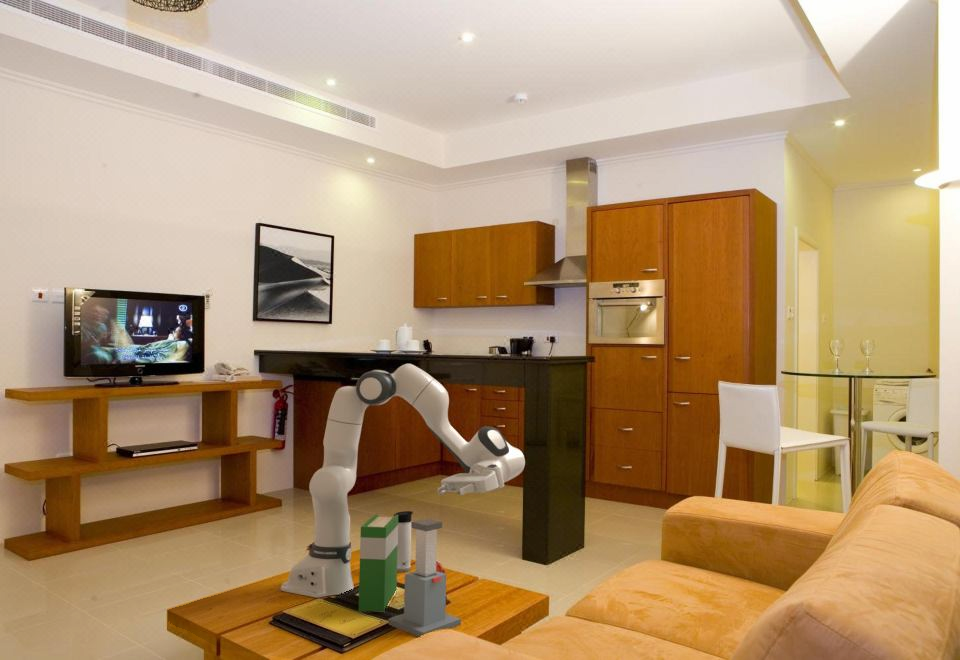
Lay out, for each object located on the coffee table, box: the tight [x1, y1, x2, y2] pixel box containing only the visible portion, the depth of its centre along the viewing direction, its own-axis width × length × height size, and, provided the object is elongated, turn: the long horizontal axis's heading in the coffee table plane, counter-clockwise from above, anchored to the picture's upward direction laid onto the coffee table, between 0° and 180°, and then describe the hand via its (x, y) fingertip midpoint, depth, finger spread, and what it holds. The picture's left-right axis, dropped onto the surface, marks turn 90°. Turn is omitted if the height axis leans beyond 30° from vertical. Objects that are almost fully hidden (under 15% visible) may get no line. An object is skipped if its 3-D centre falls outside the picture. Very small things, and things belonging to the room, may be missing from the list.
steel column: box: [411, 518, 443, 578], centre depth 188 cm, size 6×6×26 cm
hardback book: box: [357, 513, 398, 613], centre depth 206 cm, size 18×7×24 cm, turn 175°
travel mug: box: [393, 510, 414, 573], centre depth 239 cm, size 6×7×20 cm
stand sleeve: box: [387, 571, 462, 638], centre depth 188 cm, size 14×14×14 cm
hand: (448, 492), depth 199 cm, fingers open, 8 cm apart
